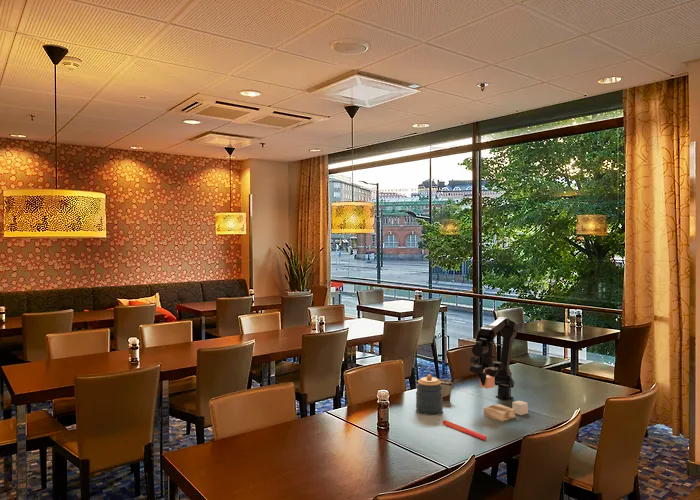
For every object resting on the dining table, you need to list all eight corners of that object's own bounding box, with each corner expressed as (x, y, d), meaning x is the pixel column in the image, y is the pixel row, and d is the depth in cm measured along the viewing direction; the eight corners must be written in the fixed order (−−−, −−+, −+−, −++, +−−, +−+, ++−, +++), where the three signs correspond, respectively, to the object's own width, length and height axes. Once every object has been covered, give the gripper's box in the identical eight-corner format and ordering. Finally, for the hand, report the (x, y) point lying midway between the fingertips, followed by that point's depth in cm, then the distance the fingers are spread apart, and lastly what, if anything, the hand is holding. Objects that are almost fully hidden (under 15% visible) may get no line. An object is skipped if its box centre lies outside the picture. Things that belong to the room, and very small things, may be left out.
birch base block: (498, 412, 251) (497, 403, 251) (515, 417, 242) (515, 409, 242) (483, 416, 245) (483, 407, 245) (500, 422, 237) (500, 413, 237)
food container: (451, 398, 272) (451, 379, 271) (452, 401, 266) (452, 382, 265) (427, 397, 273) (427, 378, 273) (428, 401, 267) (428, 381, 267)
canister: (446, 408, 255) (445, 372, 255) (438, 416, 244) (438, 379, 243) (420, 405, 261) (420, 369, 260) (412, 413, 249) (412, 376, 249)
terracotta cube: (486, 384, 260) (486, 374, 260) (494, 387, 256) (494, 377, 256) (479, 386, 258) (479, 376, 257) (487, 388, 253) (487, 378, 253)
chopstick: (447, 425, 236) (440, 423, 233) (448, 420, 236) (441, 419, 234) (489, 441, 216) (482, 440, 214) (490, 436, 217) (483, 435, 214)
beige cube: (519, 410, 252) (519, 400, 252) (527, 413, 248) (527, 403, 247) (512, 412, 249) (512, 402, 249) (520, 415, 245) (520, 404, 245)
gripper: (488, 348, 268) (488, 378, 268) (461, 352, 258) (461, 383, 259) (505, 352, 259) (505, 383, 259) (477, 356, 249) (477, 389, 249)
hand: (487, 384), depth 257 cm, fingers closed on terracotta cube, 5 cm apart
